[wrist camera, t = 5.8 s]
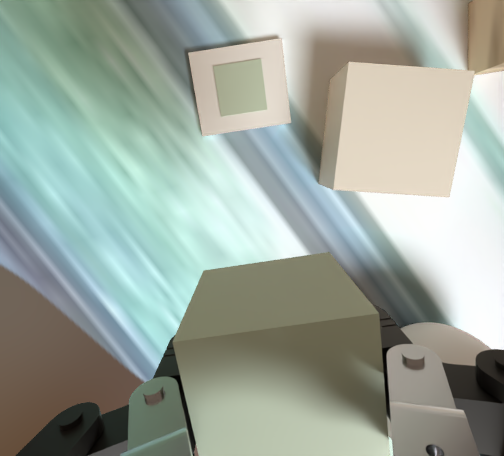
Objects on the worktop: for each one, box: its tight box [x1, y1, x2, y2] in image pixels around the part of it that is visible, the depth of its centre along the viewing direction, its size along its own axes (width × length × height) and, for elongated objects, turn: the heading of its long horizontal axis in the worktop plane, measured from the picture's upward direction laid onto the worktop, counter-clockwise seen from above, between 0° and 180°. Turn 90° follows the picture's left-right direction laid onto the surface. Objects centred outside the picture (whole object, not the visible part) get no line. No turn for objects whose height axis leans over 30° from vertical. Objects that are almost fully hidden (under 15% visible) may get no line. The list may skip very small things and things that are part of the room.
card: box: [188, 38, 291, 136], centre depth 24 cm, size 7×6×1 cm
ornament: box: [387, 322, 492, 439], centre depth 24 cm, size 10×10×12 cm
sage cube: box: [173, 252, 390, 456], centre depth 11 cm, size 5×5×5 cm
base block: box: [318, 62, 475, 197], centre depth 23 cm, size 8×8×5 cm
